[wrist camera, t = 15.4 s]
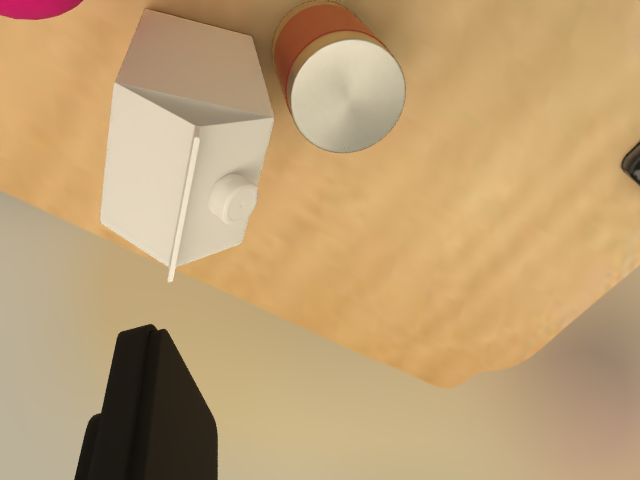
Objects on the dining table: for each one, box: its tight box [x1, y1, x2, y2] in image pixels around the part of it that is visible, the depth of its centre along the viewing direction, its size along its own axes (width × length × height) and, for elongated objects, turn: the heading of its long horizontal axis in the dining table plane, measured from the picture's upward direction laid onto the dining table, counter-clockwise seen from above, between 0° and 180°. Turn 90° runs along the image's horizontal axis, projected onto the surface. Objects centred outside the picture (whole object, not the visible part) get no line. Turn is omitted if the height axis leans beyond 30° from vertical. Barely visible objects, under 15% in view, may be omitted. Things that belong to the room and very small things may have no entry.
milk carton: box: [100, 9, 274, 282], centre depth 31 cm, size 7×7×19 cm
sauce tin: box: [272, 0, 406, 153], centre depth 35 cm, size 7×7×10 cm
